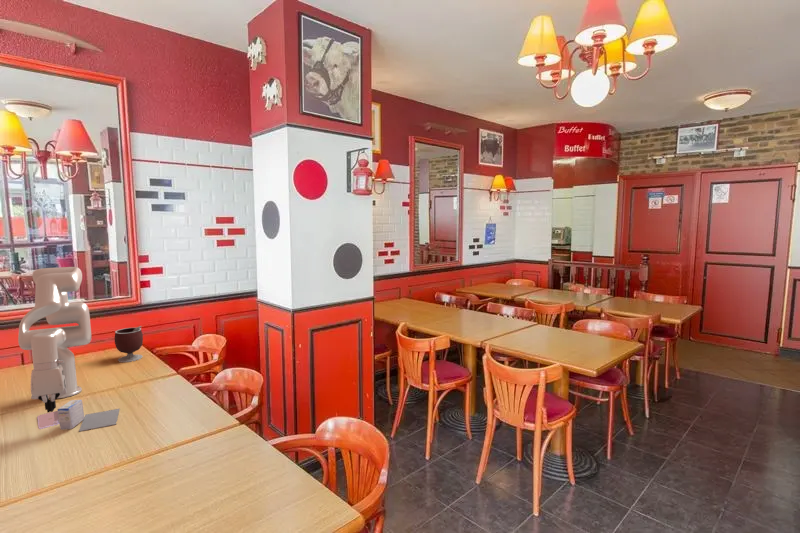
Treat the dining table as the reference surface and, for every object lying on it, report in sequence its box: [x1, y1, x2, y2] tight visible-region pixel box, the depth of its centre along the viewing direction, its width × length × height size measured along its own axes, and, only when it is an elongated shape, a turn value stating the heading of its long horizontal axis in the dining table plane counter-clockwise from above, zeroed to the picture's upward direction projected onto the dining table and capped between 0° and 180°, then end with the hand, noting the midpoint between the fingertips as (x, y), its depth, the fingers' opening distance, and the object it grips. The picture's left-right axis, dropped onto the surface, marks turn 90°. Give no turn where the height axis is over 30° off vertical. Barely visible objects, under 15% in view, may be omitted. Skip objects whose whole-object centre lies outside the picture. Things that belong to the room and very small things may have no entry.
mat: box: [78, 408, 121, 433], centre depth 175 cm, size 16×12×1 cm
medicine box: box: [57, 399, 85, 431], centre depth 170 cm, size 8×4×9 cm, turn 5°
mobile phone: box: [36, 410, 60, 430], centre depth 176 cm, size 8×1×15 cm
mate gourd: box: [114, 325, 144, 363], centre depth 250 cm, size 16×14×20 cm
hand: (50, 410), depth 167 cm, fingers closed
